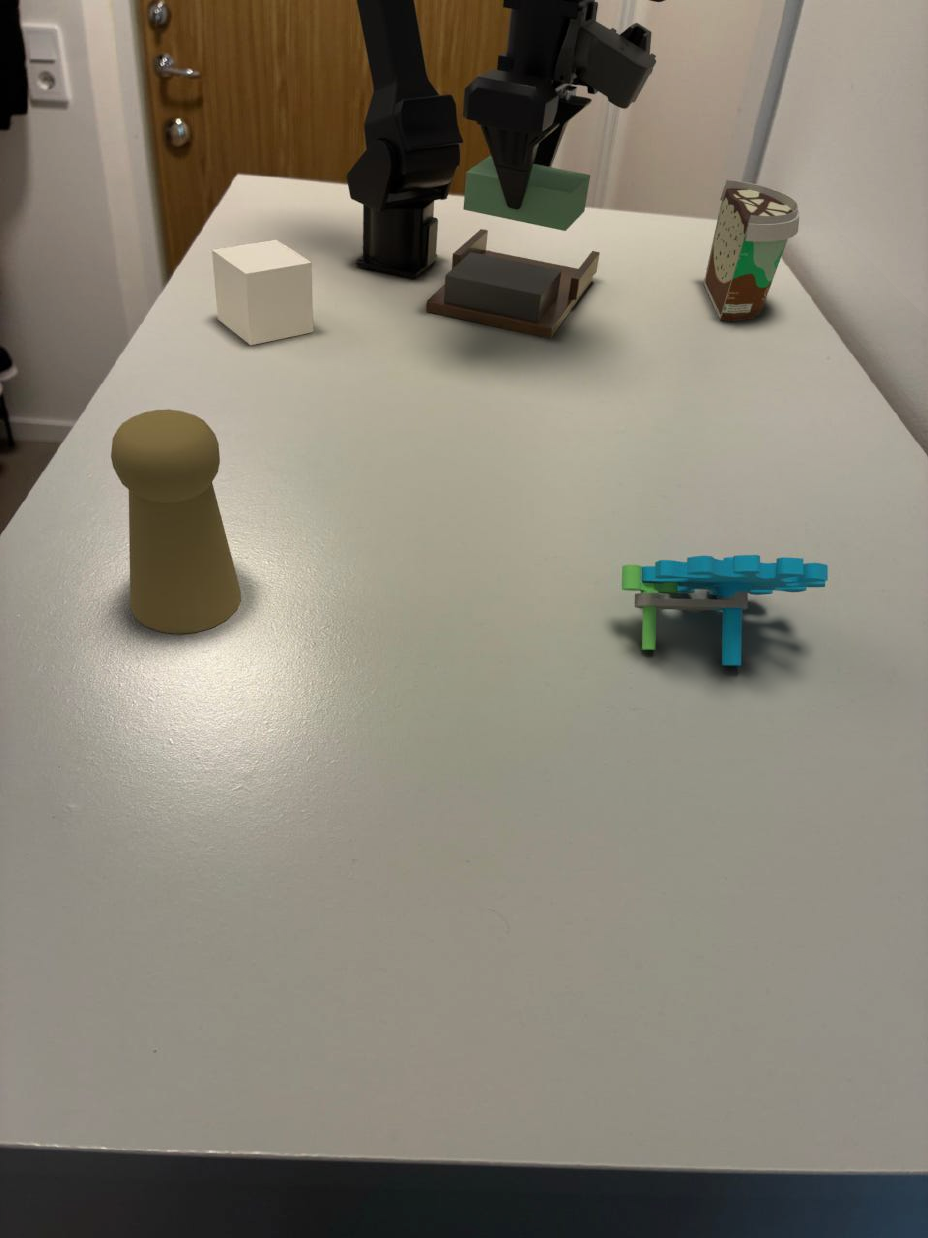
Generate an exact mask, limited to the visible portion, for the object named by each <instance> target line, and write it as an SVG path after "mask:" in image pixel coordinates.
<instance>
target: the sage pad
mask: <svg viewBox="0 0 928 1238" xmlns="http://www.w3.org/2000/svg"><path fill="white" fill-rule="evenodd" d="M465 173H466V174H465V185H464V197H463V207H462V208H463V209H462V210H464V211H469V212H472V213H473V212H474V213H477V214H483V215H486V216H487V215H488V216H492V217H495V218H496V217H497V218H500V219H501V218H502V219H506V220H510V221H515V222H521V223H525V224H529V225H534V226H539V227H545V228H549V229H554V230H557V231H561V232H562V231H563V232H567V230H568V229H570V227H572V225H573V224H574V223H575V222H576V221H577V220H578V219H579V218H580V217H581V216H582V215H583V214H584V213H585V210H586V205H587V204H586V203H587V198H588V192H589V186H590V181H591V175H590V174H587V173H582V172H577V171H572V170H567V169H561V168H557V167H553V166H551V167H547V166H542V165H537V164H533V167H532V171H531V174H530V178H529V182H528V186H527V189H526V193H525V196H524V199H523V203H522V206H521V208H520V209H512V208H509V207H508V206H507V204H506V201H505V198H504V194H503V191H502V188H501V185H500V181H499V178H498V175H497V172H496V168H495V165H494V162H493V159H492V156H491V155H489V156H488V157H486V158H484V159H483V160H481V161H480V162H479V163H478V164H476V165H474V166H473V167H471V168H470V169H468V170H467V171H465Z"/></svg>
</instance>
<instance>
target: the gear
mask: <svg viewBox="0 0 928 1238" xmlns="http://www.w3.org/2000/svg"><path fill="white" fill-rule="evenodd" d="M828 568H829V565H828V564H826V563H821V562H806V563H804V558H803V557H802V558H801V557H778V558H776V562H761V555H758V554H739V555H733V556H729V557H727V556H726V557H723V559H718V558H715V557H713V556H711V555H697V556H689V557H686V561H679V560H673V559H659V560H657V561H655V562H654V565H644V566H642V565H639V564H623V565H622V566H621V590H622V591H628V592H629V591H630V592H636V591H638V593H635V594H634V608H636V609H642V620H641V621H642V622H641V623H642V626H641V650H642V651H643V650H644V651H656V643H657V642H656V641H657V640H656V639H657V610H683V611H685V610H687V611H688V610H689V611H690V610H691V611H692V610H693V611H722V625H721V626H722V627H721V628H722V629H721V630H722V632H721V633H722V634H721V635H722V636H721V638H722V639H721V666H725V667H726V666H728V667H730V666H731V667H740V666H741V667H742V635H743V634H742V631H743V630H742V628H743V627H742V625H743V624H742V623H743V613H742V612H743V611H746V610H748V609H749V604H748V603H749V602H748V601H749V595H752V596H753V595H754V596H761V595H772V594H774V593H773V592H774V591H779V592H785V593H801V592H806V591H807V588H825V587H826V582H827V581H828V580H829V578H828V577H829V574H828V573H829V569H828ZM696 590H706V591H709V593H708V594H709V595H710V596H716V599H713V598H712V599H711V598H709V599H708V598H707V599H706V598H704V599H703V598H665V595H674V594H679V593H680V594H694V593H695V592H696Z"/></svg>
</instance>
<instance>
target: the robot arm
mask: <svg viewBox="0 0 928 1238" xmlns="http://www.w3.org/2000/svg"><path fill="white" fill-rule="evenodd" d="M649 1H650V2H655V3H662V2H665V1H666V0H649ZM356 5H357V10H358V14H359V20H360V25H361V30H362V35H363V39H364V40H363V41H364V46H365V51H366V55H367V56H366V57H367V60H368V66H369V71H370V76H371V82H372V88H373V92H372V94H371V99H370V102H369V105H368V109H367V112H366V116H365V120H364V122H363V123H364V124H363V130H364V139H365V148H366V149H365V150H364V152H363V153H362V154H361V156H360V157H359V158H358V160H357V161H356V162H355V163H354V165H353V166H352V167H351V168H350V170H349V171H348V172H347V173H346V182H347V187H348V192H349V198H350V199H351V200H352V201H355V202H357V203H359V204H361V205H362V255H361V256H359V257H358V258H356V259H355V266H357V267H360V268H365V269H369V270H373V271H374V270H375V271H379V272H384V273H389V274H393V275H399V276H402V277H408V278H417V277H418V276H419V275H421V274H422V273H423V272H424V271H425V270H426V269H427V268H429V267H430V266H431V265H433V263H435V262H436V261H437V259H438V254H437V245H438V232H439V231H438V228H439V219H438V217H435V216H434V213H435V201H439V200H440V201H444V200H445V201H446V200H447V199H448V195H449V193H450V189H451V187H452V184H453V181H454V178H455V175H456V172H457V169H458V168H459V167H460V166H461V156H462V155H461V146H460V145H461V144H464V139H463V137H462V134H461V132H460V128H459V123H458V114H457V113H458V111H457V103H456V101H455V99H454V95H452V94H451V93H449V94H440V93H439V92H438V90H437V89H436V88H435V86H434V85H433V84H432V82H431V81H430V79H429V77H428V73H427V66H426V60H425V56H424V55H425V54H424V51H423V44H422V43H423V42H422V38H421V33H420V26H419V21H418V16H417V9H416V4H415V0H356ZM502 8H505V9H510V14H509V25H508V33H507V44H506V51H504V52H502V53H499V54H498V56H497V63H496V64H497V65H496V69H490V70H489V71H486V72H484V73H482V74H480V75H478V76H476V78H475V79H473V80H472V81H471V82H470V83H469V84H468V85H467V86H466V87H465V88H464V90H463V91H464V92H463V106H462V115H461V116H462V117H461V118H464V119H466V120H467V121H474V122H475V123H476V124H477V125H479V126H480V129H481V131H482V134H483V137H484V139H485V142H486V145H487V147H488V151H489V153H490V156H492V159H493V162H494V165H495V168H496V172H497V175H498V178H499V181H500V185H501V188H502V191H503V194H504V198H505V201H506V204H507V206H508V207H509V208H512V209H520V208H521V206H522V203H523V199H524V196H525V193H526V189H527V186H528V182H529V178H530V174H531V171H532V167H533V164H537V165H542V166H547V167H553V164H554V162H555V158H556V157H557V156H556V155H557V153H558V151H559V147H560V145H561V142H562V140H563V137H564V134H565V132H566V129H567V127H568V125H569V123H570V121H571V120H572V119H573V118H574V117H575V116H577V115H578V114H579V113H580V112H581V111H583V110H584V109H585V108H587V107H588V106H589V105H590V104H591V102H593V99H592V98H589V97H585V96H580V95H577V89H578V86H580V87H581V86H582V87H586V88H587V94H590V95H596V94H597V93H598V92H599V93H600V94H602V95H603V96H605V97H606V98H607V100H608V102H609V103H611V104H612V105H614V106H615V107H617V108H620V109H622V110H626V109H628V108H629V107H630V106H631V104H633V103H635V102H636V101H637V99H638V97H639V96H640V93H641V91H642V89H643V88H644V86H645V84H646V82H647V80H648V79H649V77H650V76H651V75H652V73H653V71H654V67H655V66H656V63H657V60H656V57H657V55H656V54H654V53H651V43H652V31H651V30H650V29H648V28H646V27H645V26H643V25H642V24H641V23H639V22H635V23H633V24H631V25H630V26H628V27H627V28H626V29H624V30H623V31H622V32H621V33H620V34H619V33H618V32H617V29H616V28H614V27H611V28H608V27H607V26H606V25H603V24H601V23H600V22H598V21H597V15H598V8H599V2H598V1H596V0H503V2H502Z"/></svg>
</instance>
